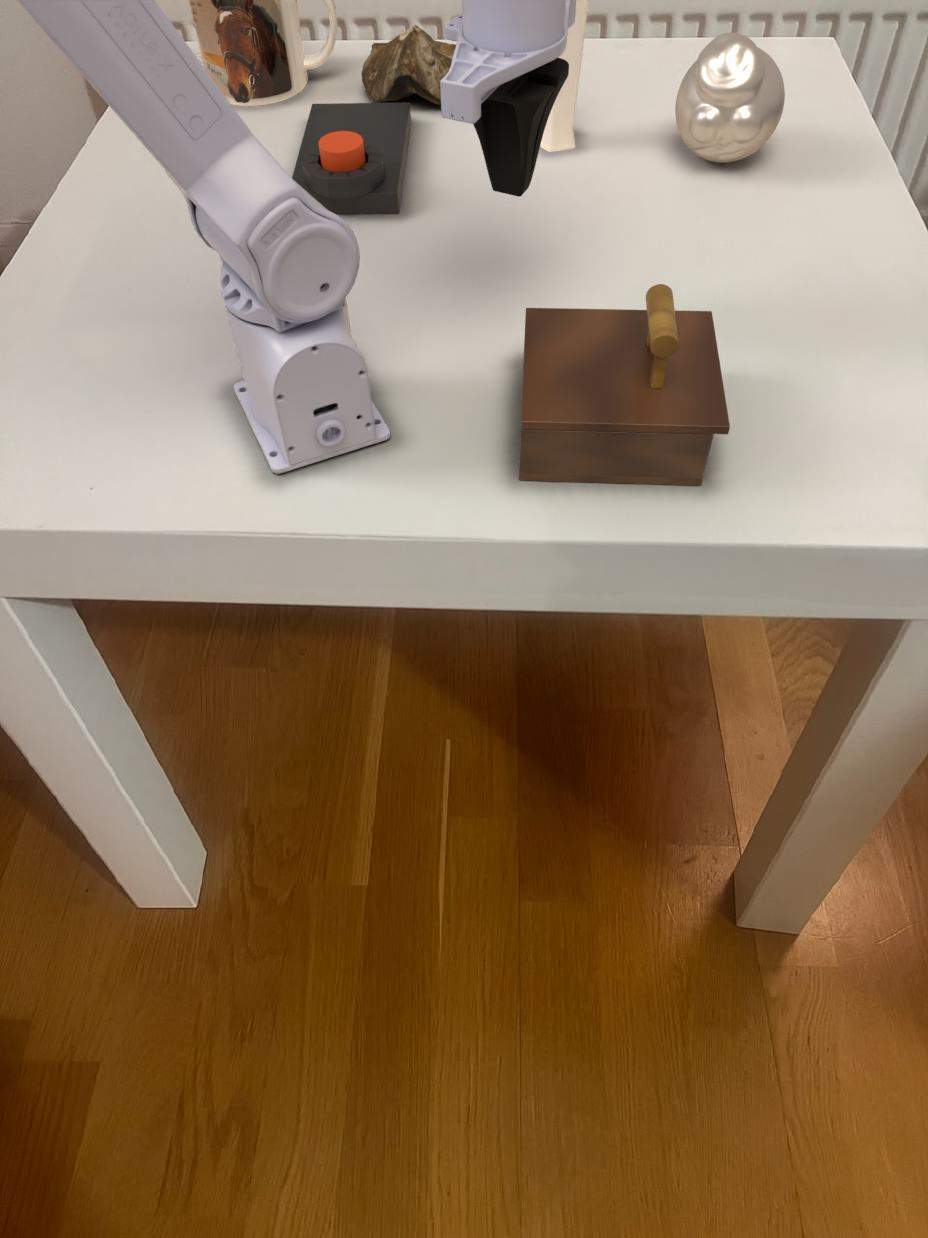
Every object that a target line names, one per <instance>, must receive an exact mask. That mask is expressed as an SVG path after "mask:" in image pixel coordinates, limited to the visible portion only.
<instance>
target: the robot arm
mask: <svg viewBox="0 0 928 1238" xmlns="http://www.w3.org/2000/svg"><path fill="white" fill-rule="evenodd" d="M16 1H17V2H18V3H19V4H20V5H21V6H22V8H23V9H24V10H25V11H26V12H27V14H28V15H29V16H30V17H31V18H32V19H33V20H34V22H35V23H36V24H37V25H38V26H39V28H41V30H42V31H43V32H44V33H45V34H46V35H47V36H48V37H49V39H50V40H51V41H52V43H54V45H55V46H56V47H57V48H58V49H59V50H60V51H61V53H62V54H63V55H64V56H65V57H66V58H67V60H68V61H69V62H70V63H71V64H72V65H73V66H74V67H75V69H76V70H77V71H78V72H79V73H80V74H81V75H82V77H83V78H84V79H85V80H86V81H87V83H89V85H90V86H91V87H92V88H93V89H94V91H96V93H97V94H98V95H99V96H100V97H101V98H102V100H103V101H104V102H105V103H106V104H107V105H108V106H109V108H110V109H111V110H112V111H113V112H114V113H115V114H116V115H117V117H118V118H119V119H120V120H121V121H122V122H123V124H124V125H125V126H126V127H127V128H128V129H129V131H130V132H131V133H132V134H133V135H134V137H136V139H137V140H138V141H139V142H140V143H141V144H142V146H143V147H144V148H145V149H146V150H147V151H148V152H149V154H150V155H152V157H153V158H154V160H156V162H157V163H158V164H159V165H160V166H161V167H162V168H163V170H164V171H165V174H166V176H167V177H168V178H169V179H170V180H171V181H172V183H173V184H174V185H175V186H176V187H177V189H178V190H179V191H180V192H181V194H182V196H183V198H184V200H185V202H186V205H187V210H188V214H189V217H190V221H191V224H192V227H193V229H194V231H195V232H196V234H197V235H198V237H199V238H200V239H201V241H203V243H204V244H205V245H206V246H207V247H208V248H210V249H211V250H213V251H215V252H216V253H217V254H218V255H219V258H220V262H221V271H220V292H221V296H222V300H223V303H224V307H225V311H226V314H227V318H228V323H229V326H230V330H231V334H232V339H233V342H234V346H235V350H236V354H237V357H238V362H239V365H240V368H241V372H242V376H243V380H239V381H237V382H235V383H234V385H233V390H234V393H235V395H236V397H237V399H238V402H239V404H240V407H241V408H242V411H243V412H244V415H245V417H246V419H247V422H248V424H249V425H250V428H251V430H252V432H253V434H254V436H255V438H256V440H257V442H258V444H259V446H260V449H261V451H262V453H263V455H264V457H265V460H266V461H267V463H268V467H269V468H270V470H271V472H272V473H274V474H283V473H287V472H290V471H292V470H296V469H299V468H302V467H306V466H309V465H311V464H315V463H318V462H321V461H324V460H327V459H330V458H333V457H337V456H340V455H343V454H346V453H347V454H348V453H350V452H352V451H355V450H360V449H361V448H362V449H363V448H365V447H369V446H370V445H374V444H378V443H382V442H385V441H387V440H389V439H390V437H391V429H390V428H389V426H388V425H387V423H386V421H385V420H384V418H383V416H382V415H381V413H380V411H379V410H378V408H377V407H376V405H375V403H374V401H373V400H372V395H371V387H370V379H369V372H368V371H369V370H368V367H367V363H366V360H365V358H364V355H363V354H362V352H361V351H360V349H359V347H358V345H357V344H356V341H355V340H354V338H353V336H352V330H351V323H350V322H351V321H350V315H349V307H348V302H347V297H348V295H349V294H350V292H351V291H352V289H353V287H354V285H355V283H356V280H357V277H358V273H359V269H360V262H361V255H360V245H359V242H358V239H357V237H356V233H354V230H353V229H352V228H351V226H350V225H349V224H348V223H347V221H345V219H343V218H342V217H341V215H336V214H334V213H332V212H330V211H328V210H327V209H326V208H325V207H324V206H323V205H321V204H320V203H319V202H318V201H317V200H316V199H315V198H313V197H312V196H311V195H310V194H309V193H308V192H307V191H306V190H304V189H303V188H302V187H301V186H300V185H299V184H298V183H296V182H295V181H294V180H293V179H292V176H291V175H290V174H289V173H288V172H287V171H286V170H285V169H284V168H283V166H282V165H281V164H280V163H279V162H278V161H277V159H276V158H275V157H274V156H273V155H272V154H271V153H270V152H269V150H267V148H266V147H265V146H264V145H263V144H262V143H261V142H260V141H259V139H258V138H257V137H256V136H255V135H254V133H253V132H252V131H251V130H250V128H249V127H248V125H247V124H246V123H245V121H244V120H243V118H242V117H241V116H240V115H239V113H238V112H237V110H236V109H235V108H234V106H233V104H230V102H229V101H228V100H227V98H226V97H225V95H224V94H223V93H222V91H221V90H220V89H219V87H218V86H217V85H216V83H215V82H214V80H213V79H212V78H211V76H210V75H209V74H208V72H207V71H206V70H205V68H204V65H203V64H202V63H201V61H200V60H199V59H198V57H197V56H196V54H195V53H194V52H193V50H192V49H191V48H190V46H189V45H188V43H187V42H186V41H185V39H184V37H182V35H181V34H180V33H179V31H178V30H177V28H176V27H175V26H174V25H173V23H172V22H171V20H170V19H169V18H168V16H167V15H166V14H165V12H164V11H163V10H162V8H161V6H160V5H159V4H158V2H157V1H156V0H16ZM461 5H462V6H461V7H462V8H461V11H462V13H461V14H458V15H455V16H454V17H453V18H452V19H450V21H448V22H446V24H445V26H444V36H445V37H444V38H445V39H446V40H448V41H452V42H456V44H455V45H456V48H455V51H454V55H453V59H452V63H451V67H450V69H449V71H448V73H447V74H446V76H445V77H444V78H443V79H442V80H441V81H440V88H441V105H440V110H441V112H440V113H441V118H442V119H446V120H447V119H448V120H452V121H456V122H460V123H461V122H462V123H467V124H471V125H472V126H473V127H474V129H475V133H476V134H477V137H478V141H479V143H480V147H481V150H482V154H483V158H484V162H485V166H486V170H487V174H488V178H489V183H490V186H491V189H492V191H493V192H496V193H502V194H505V195H510V196H514V197H522V196H523V195H524V194H525V193H526V191H527V190H528V189H529V188H530V185H531V183H532V180H533V176H534V173H535V169H536V165H537V160H538V156H539V152H540V149H541V147H540V144H541V141H542V137H543V133H544V130H545V126H546V123H547V120H548V117H549V115H550V112H551V110H552V107H553V105H554V102H555V100H556V98H557V96H558V94H559V92H560V90H561V88H562V86H563V84H564V82H565V81H566V79H567V77H568V74H569V63H568V62H567V61H566V60H564V59H561V58H558V57H559V56H560V55H561V54H562V53H563V52H564V50H565V49H566V45H567V34H568V28H570V27H571V26H572V25H573V24H574V23H575V13H576V0H461Z"/></svg>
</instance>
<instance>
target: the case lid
mask: <svg viewBox="0 0 928 1238" xmlns="http://www.w3.org/2000/svg"><path fill="white" fill-rule="evenodd" d="M645 305H646V309H621V308H619V309H613V308H612V309H611V308H564V307H563V308H560V307H559V308H557V307H526V308H525V319H524V340H523V341H524V342H523V364H522V367H523V368H522V386H521V387H522V388H521V411H520V430H521V429H541V430H579V431H617V432H655V433H693V434H714V435H728V434H729V432H730V428H731V425H730V419H729V413H728V408H727V407H728V405H727V400H726V392H725V388H724V387H725V386H724V381H723V380H724V379H723V375H722V368H721V367H722V366H721V361H720V355H719V348H718V343H717V336H716V330H715V324H714V318H713V312H712V311H711V310H676V309H675V302H674V293H673V290H672V288H671V287H670V286H669V285H667V284H664V283H658V284H655V285H652V286H650V288H649V289H648V290H647V291H646V294H645Z"/></svg>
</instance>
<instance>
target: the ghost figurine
mask: <svg viewBox="0 0 928 1238" xmlns="http://www.w3.org/2000/svg"><path fill="white" fill-rule="evenodd" d="M785 97H786V92H785V83H784V78H783V74H782V72H781V69H780V68H779V66H778V64H777V63H776V62H775V60H774V59H773V57H772V56H771V55H769V53H767V52H766V51H765V50H763V49H762V48H761V47H759V46H757V44H756V43H755V42H754V41H753V40H752V39H751V38H749V37H748V36H746V35H744V34H742V33H738V32H725V33H722V34H720V35H717V36H716V37H714V38H713V39H712V40H711V41H710V42H708V44H707V45H706V46H705V47H703V49H702V50H701V51H700V53H699V54H698V57H697V59H696V60H695V61H694V62H693V64H692V65H691V66H690V67H689V69H688V70H687V72H686V73H685V75H684V77H683V78H682V79H681V82H680V85H679V88H678V90H677V94H676V98H675V107H674V109H675V110H674V112H675V121H676V122H675V123H676V127H677V129H678V132H679V135H680V138H681V139H682V140H683V142H684V144H685V145H686V146H687V147H688V149H689V150H690V151H691V152H693V153H694V154H695V155H696V156H698V157H700V158H701V159H703V160H706V161H709V162H713V163H719V164H722V163H723V164H725V163H732V162H733V163H734V162H737V161H741V160H743V159H745V158H748V157H749V156H751V155H753V154H754V153H756V152H757V151H758V150H760V149H761V148H762V147H763V146H764V145H765V144H766V143H767V142H768V141H769V139H770V138H771V137H772V136H773V134H774V133H775V131H776V129H777V128H778V125H779V123H780V121H781V118H782V115H783V112H784V107H785V100H786V99H785Z"/></svg>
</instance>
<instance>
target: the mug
mask: <svg viewBox="0 0 928 1238" xmlns="http://www.w3.org/2000/svg"><path fill="white" fill-rule="evenodd" d="M322 1H323V4H324V6H325V8H326V11H327V14H328V21H329V22H328V23H329V33H328V36H327V39H326V41H325V43H324V44H323V47H322V48H321V49H319V51H316V52H315V53H313V54H308V55H306V54H305V48H304V47H305V46H304V41H303V34H302V28H301V21H300V14H299V7H298V1H297V0H188V3H189V6H190V12H191V17H192V21H193V25H194V31H195V33H196V39H197V41H198V42H197V43H198V47H199V51H200V56H201V60H202V63H203V64H202V65H203V67H204V68H205V70H206V71H207V72H208V74H209V75H210V76H211V78H212V79H213V80H214V82H215V83H216V85H217V86H218V87H219V89H220V90H221V91H222V93H223V94H224V95H225V97H226V98H227V100H228V101H229V102H230V104H231V105H232V106H233V105H234V106H240V107H257V106H267V105H273V104H277V103H281V102H283V101H286V100H289V99H291V98H293V97H295V96H296V95H298V94H300V93H301V92H302V91H303V90H304V89H305V88H306V86H307V84H308V81H309V76H308V70H313V69H316V68H319V67H320V66H322V65H324V63H325V62H327V60H328V59H329V58H330V56H331V54H332V52H333V50H334V47H335V43H336V40H337V34H338V14H337V13H338V12H337V8H336V4H335V1H334V0H322Z"/></svg>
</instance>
